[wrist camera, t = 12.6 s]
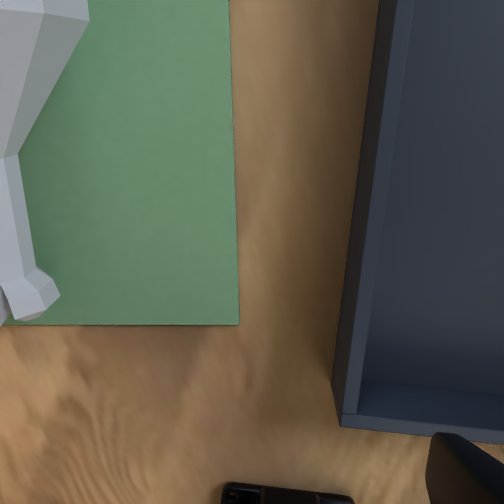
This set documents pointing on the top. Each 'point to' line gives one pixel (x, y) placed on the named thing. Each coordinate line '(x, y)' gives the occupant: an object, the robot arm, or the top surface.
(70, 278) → the napkin
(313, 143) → the top surface
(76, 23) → the chicken leg
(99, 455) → the top surface
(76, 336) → the top surface
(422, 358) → the roasting tin
